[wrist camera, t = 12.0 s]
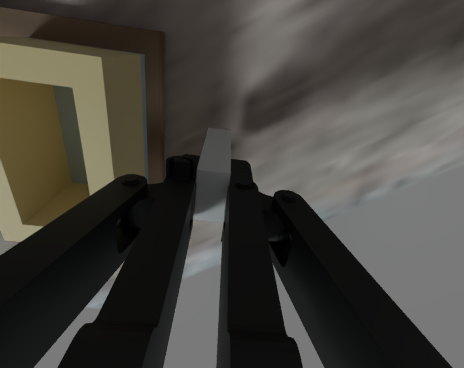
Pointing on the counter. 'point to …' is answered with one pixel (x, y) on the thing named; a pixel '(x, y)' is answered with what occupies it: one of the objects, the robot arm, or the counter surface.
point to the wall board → (109, 38)
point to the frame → (65, 127)
